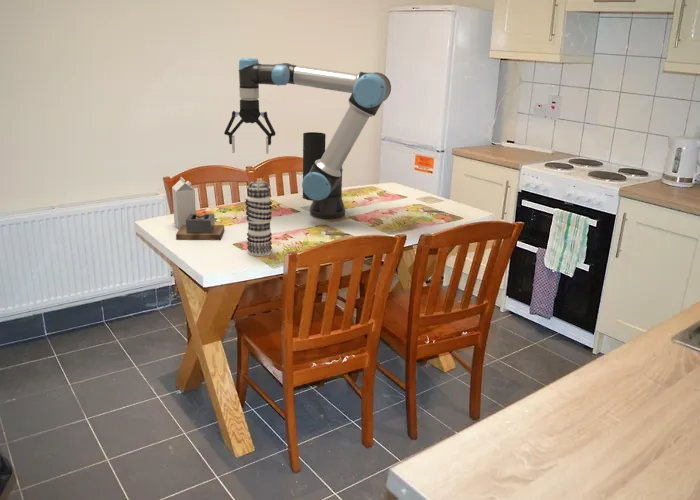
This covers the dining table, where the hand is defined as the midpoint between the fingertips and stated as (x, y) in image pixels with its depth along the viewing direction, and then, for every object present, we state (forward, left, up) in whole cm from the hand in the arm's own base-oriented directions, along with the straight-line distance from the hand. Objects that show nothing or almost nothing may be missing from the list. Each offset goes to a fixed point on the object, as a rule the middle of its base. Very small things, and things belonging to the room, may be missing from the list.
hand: (250, 152), depth 246 cm
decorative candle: (-6, +45, -27) cm, 53 cm away
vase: (-26, -32, -27) cm, 50 cm away
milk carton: (+25, +15, -27) cm, 39 cm away
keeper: (+17, +26, -27) cm, 41 cm away
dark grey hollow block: (+17, +26, -25) cm, 40 cm away
